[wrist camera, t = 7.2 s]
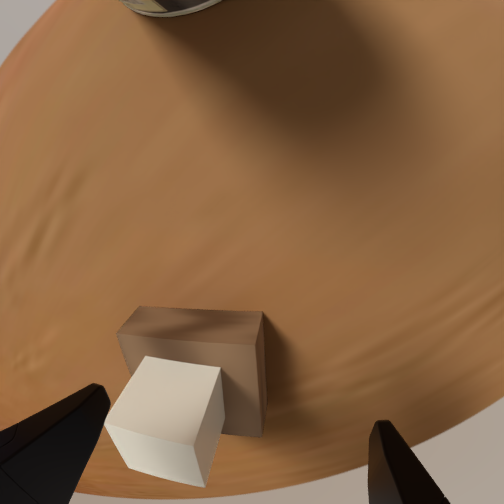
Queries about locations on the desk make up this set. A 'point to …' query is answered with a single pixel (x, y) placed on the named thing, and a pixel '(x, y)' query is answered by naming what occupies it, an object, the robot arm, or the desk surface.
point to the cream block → (169, 420)
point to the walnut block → (207, 354)
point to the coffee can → (167, 6)
